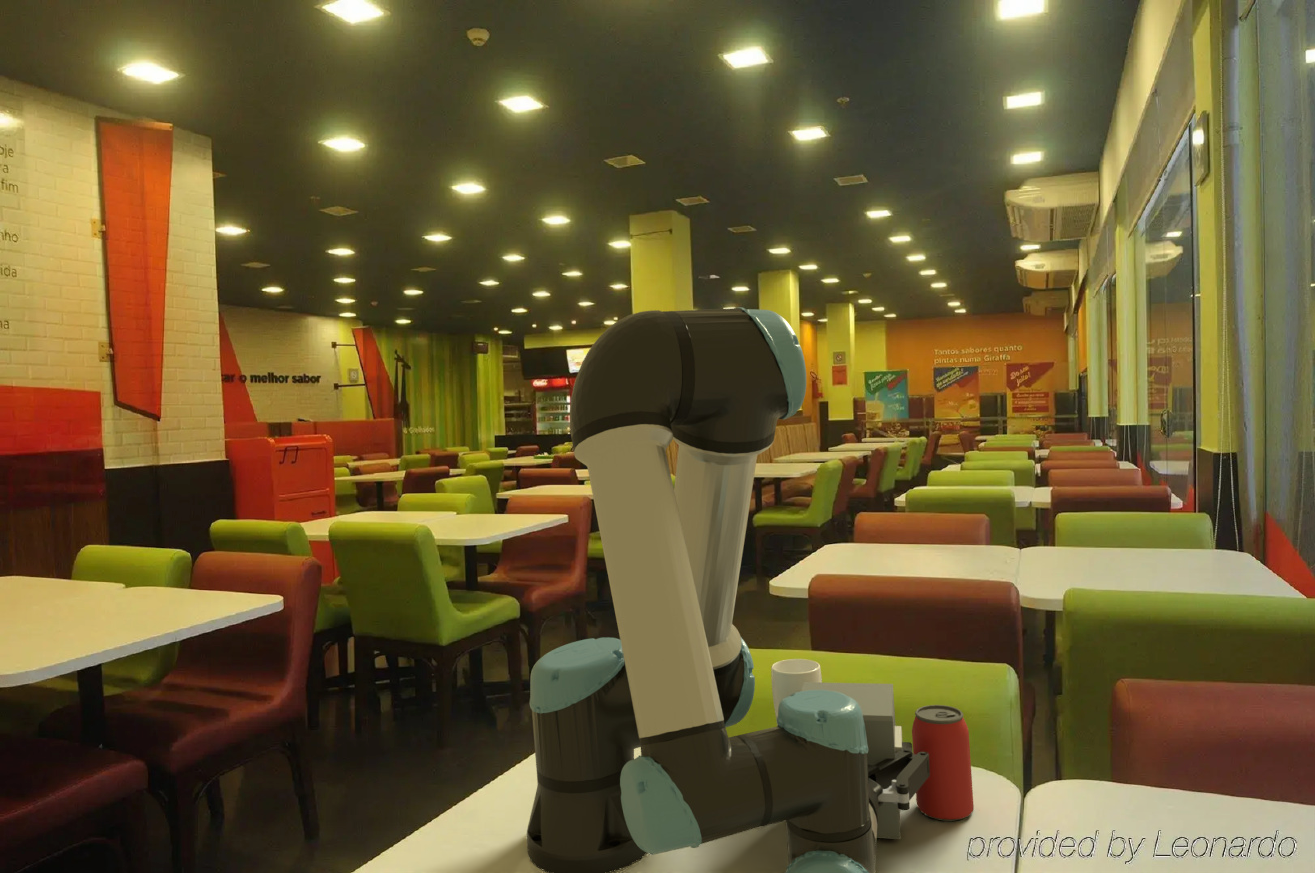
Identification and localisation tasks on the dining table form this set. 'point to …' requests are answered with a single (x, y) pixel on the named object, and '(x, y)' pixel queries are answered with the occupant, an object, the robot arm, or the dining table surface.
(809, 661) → the drinking glass
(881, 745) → the tall grey box
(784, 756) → the robot arm
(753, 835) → the dining table surface
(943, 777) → the beer can
